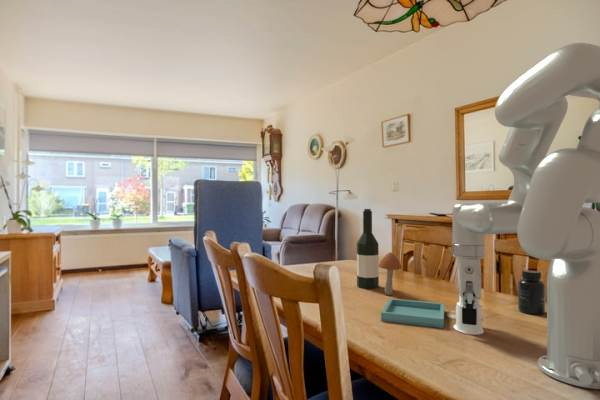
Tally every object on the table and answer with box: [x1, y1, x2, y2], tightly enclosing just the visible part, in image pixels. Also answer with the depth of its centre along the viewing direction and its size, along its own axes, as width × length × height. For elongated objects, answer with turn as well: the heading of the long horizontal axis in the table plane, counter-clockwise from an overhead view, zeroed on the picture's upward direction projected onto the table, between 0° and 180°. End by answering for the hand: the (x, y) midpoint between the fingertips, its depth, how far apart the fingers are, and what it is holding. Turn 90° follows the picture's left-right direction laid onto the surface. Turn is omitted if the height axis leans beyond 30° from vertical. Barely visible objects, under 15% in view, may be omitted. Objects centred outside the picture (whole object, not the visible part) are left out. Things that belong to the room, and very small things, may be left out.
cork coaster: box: [445, 310, 456, 321], centre depth 105 cm, size 9×9×1 cm
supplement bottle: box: [517, 269, 546, 316], centre depth 110 cm, size 7×7×12 cm
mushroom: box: [379, 252, 403, 296], centre depth 131 cm, size 8×8×15 cm
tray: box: [380, 297, 445, 329], centre depth 106 cm, size 16×16×2 cm
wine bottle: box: [356, 208, 380, 290], centre depth 144 cm, size 8×8×30 cm
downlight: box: [453, 295, 485, 336], centre depth 95 cm, size 8×7×10 cm
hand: (468, 318), depth 95 cm, fingers open, 9 cm apart
